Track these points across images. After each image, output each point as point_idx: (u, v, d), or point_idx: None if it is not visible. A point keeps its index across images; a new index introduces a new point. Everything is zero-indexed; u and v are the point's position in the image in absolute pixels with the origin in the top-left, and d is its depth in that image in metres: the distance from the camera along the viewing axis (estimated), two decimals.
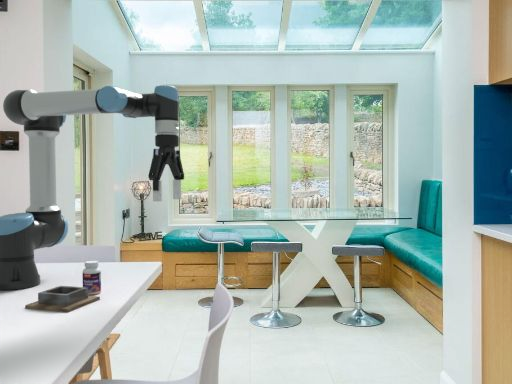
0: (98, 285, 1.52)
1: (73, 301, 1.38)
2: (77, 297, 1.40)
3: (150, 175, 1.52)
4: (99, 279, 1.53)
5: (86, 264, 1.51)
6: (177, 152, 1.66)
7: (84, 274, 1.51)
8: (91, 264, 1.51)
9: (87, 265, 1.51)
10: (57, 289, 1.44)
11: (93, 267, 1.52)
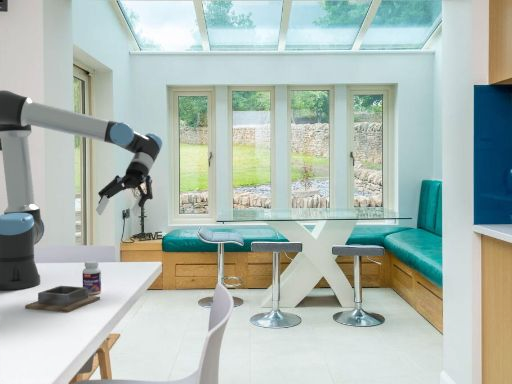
0: (98, 285, 1.52)
1: (73, 301, 1.38)
2: (77, 297, 1.40)
3: (150, 194, 1.67)
4: (99, 279, 1.53)
5: (86, 264, 1.51)
6: None
7: (84, 274, 1.51)
8: (91, 264, 1.51)
9: (87, 265, 1.51)
10: (57, 289, 1.44)
11: (93, 267, 1.52)
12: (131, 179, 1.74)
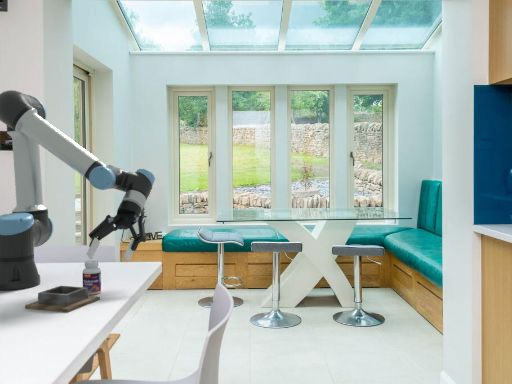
0: (98, 285, 1.52)
1: (73, 301, 1.38)
2: (77, 297, 1.40)
3: (143, 236, 1.60)
4: (99, 279, 1.53)
5: (86, 264, 1.51)
6: None
7: (84, 274, 1.51)
8: (91, 264, 1.51)
9: (87, 265, 1.51)
10: (57, 289, 1.44)
11: (93, 267, 1.52)
12: (123, 219, 1.67)
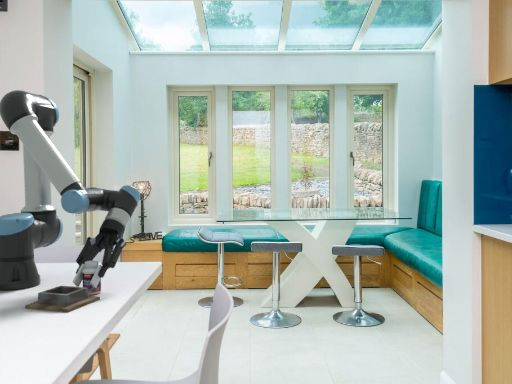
0: (98, 285, 1.52)
1: (73, 301, 1.38)
2: (77, 297, 1.40)
3: (112, 263, 1.53)
4: None
5: (86, 264, 1.51)
6: None
7: (84, 274, 1.51)
8: (91, 264, 1.51)
9: (87, 265, 1.51)
10: (57, 289, 1.44)
11: (93, 267, 1.52)
12: (105, 239, 1.59)
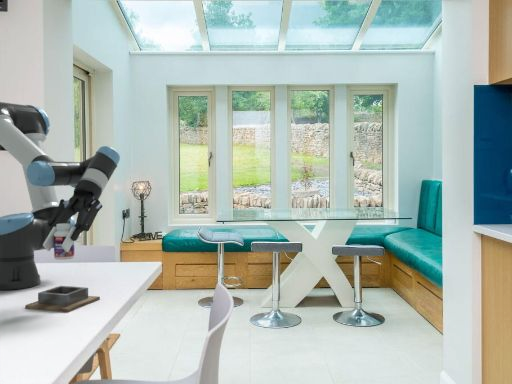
0: (71, 249, 1.40)
1: (73, 301, 1.38)
2: (77, 297, 1.40)
3: (86, 225, 1.40)
4: None
5: (58, 226, 1.39)
6: None
7: (55, 237, 1.38)
8: (63, 226, 1.39)
9: (59, 227, 1.39)
10: (57, 289, 1.44)
11: (65, 230, 1.39)
12: (79, 201, 1.47)
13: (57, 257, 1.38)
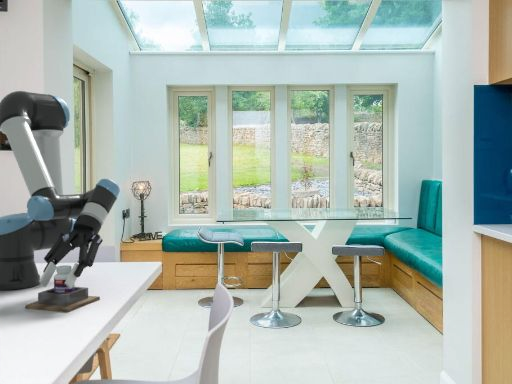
0: None
1: (73, 301, 1.38)
2: (77, 297, 1.40)
3: (89, 261, 1.40)
4: None
5: (58, 269, 1.39)
6: None
7: (55, 280, 1.38)
8: (63, 269, 1.39)
9: (59, 270, 1.39)
10: None
11: (65, 273, 1.39)
12: (79, 236, 1.47)
13: None
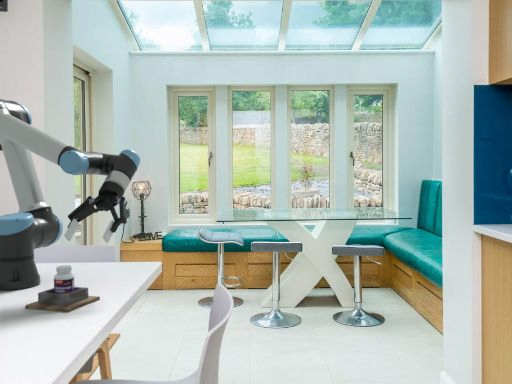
0: None
1: (73, 301, 1.38)
2: (77, 297, 1.40)
3: (124, 218, 1.52)
4: (72, 285, 1.40)
5: (58, 269, 1.39)
6: None
7: (55, 280, 1.39)
8: (63, 269, 1.39)
9: (59, 270, 1.39)
10: None
11: (65, 273, 1.39)
12: (104, 201, 1.59)
13: None
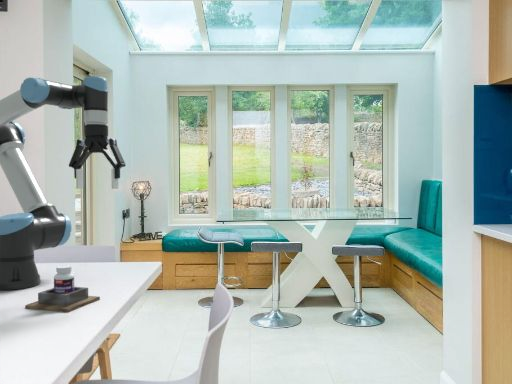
0: None
1: (73, 301, 1.38)
2: (77, 297, 1.40)
3: (122, 164, 1.62)
4: (72, 285, 1.40)
5: (58, 269, 1.39)
6: None
7: (55, 280, 1.39)
8: (63, 269, 1.39)
9: (59, 270, 1.39)
10: None
11: (65, 273, 1.39)
12: (94, 144, 1.64)
13: None
